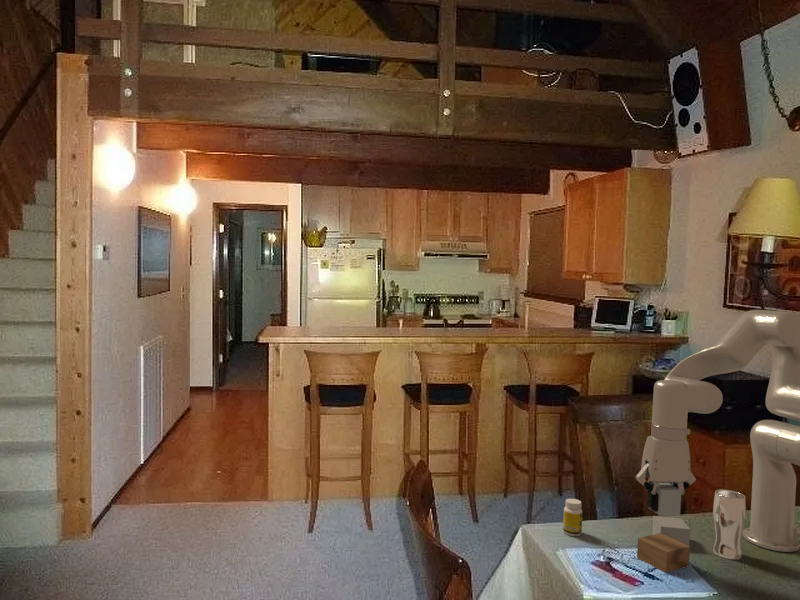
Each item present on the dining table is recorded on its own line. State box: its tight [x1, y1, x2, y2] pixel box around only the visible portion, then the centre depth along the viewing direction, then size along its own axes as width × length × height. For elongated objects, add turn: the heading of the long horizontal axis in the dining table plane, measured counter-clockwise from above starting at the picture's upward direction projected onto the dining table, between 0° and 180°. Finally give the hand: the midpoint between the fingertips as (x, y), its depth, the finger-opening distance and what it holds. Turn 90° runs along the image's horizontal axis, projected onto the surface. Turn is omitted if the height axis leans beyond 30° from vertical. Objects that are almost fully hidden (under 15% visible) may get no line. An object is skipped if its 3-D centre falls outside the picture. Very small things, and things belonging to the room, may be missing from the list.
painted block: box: [647, 482, 682, 517], centre depth 137 cm, size 5×5×6 cm
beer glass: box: [712, 489, 747, 561], centre depth 143 cm, size 7×7×15 cm
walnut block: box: [636, 533, 691, 574], centre depth 137 cm, size 8×8×5 cm
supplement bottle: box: [562, 498, 583, 537], centre depth 152 cm, size 5×5×8 cm
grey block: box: [651, 515, 691, 546], centre depth 150 cm, size 7×7×5 cm
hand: (663, 508), depth 137 cm, fingers closed on painted block, 5 cm apart
